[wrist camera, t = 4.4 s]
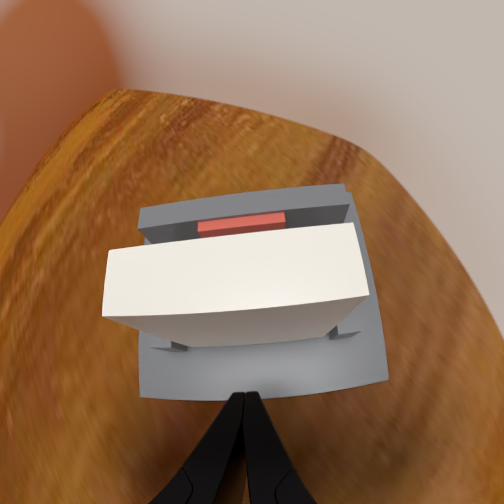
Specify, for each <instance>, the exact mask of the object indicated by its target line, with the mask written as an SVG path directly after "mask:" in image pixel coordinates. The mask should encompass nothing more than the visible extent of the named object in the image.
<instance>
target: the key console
mask: <svg viewBox="0 0 504 504" xmlns="http://www.w3.org/2000/svg"><path fill="white" fill-rule="evenodd" d="M342 223H354V227H355V231H356V235H357V239H358V243H359V247H360V252H361V256H362V260H363V265H364V270H365V274H366V279H367V284H368V289H369V296H368V297H367V298H366V299H365V300H364V301H363V302H362V303H361V304H359V305H358V306H357V307H356V308H355V309H354V310H353V311H352V312H351V313H350V314H349V315H348V316H346V317H345V318H344V319H343V320H342V321H341V322H340V323H339V324H337V325H336V326H335V327H334V328H333V329H332V330H331V331H329V332H328V333H327V334H326V335H325V336H324V337H319V338H311V339H303V340H295V341H285V342H275V343H264V344H252V345H237V346H219V347H189V346H186V345H182V344H179V343H176V342H173V341H169V340H166V339H163V338H160V337H157V336H154V335H151V334H148V333H145V332H143V331H140V330H139V386H140V397H146V398H158V399H174V400H207V401H218V400H228V399H229V397H230V396H231V394H232V393H233V392H245V393H246V392H247V391H258V392H259V394H260V397H261V399H268V398H280V397H290V396H299V395H308V394H315V393H322V392H329V391H335V390H341V389H347V388H352V387H357V386H362V385H367V384H372V383H376V382H381V381H385V380H389V377H388V367H387V358H386V350H385V343H384V336H383V329H382V323H381V317H380V311H379V305H378V300H377V294H376V289H375V284H374V279H373V275H372V270H371V265H370V261H369V257H368V252H367V248H366V244H365V240H364V236H363V232H362V229H361V225H360V221H359V218H358V214H357V210H356V207H355V204H354V200H353V197H352V194H351V192H348V193H347V192H346V188H345V185H344V184H330V185H317V186H304V187H293V188H283V189H273V190H264V191H255V192H246V193H238V194H230V195H222V196H215V197H208V198H201V199H194V200H187V201H181V202H175V203H169V204H163V205H157V206H151V207H145V208H141V209H140V215H139V222H138V230H139V231H140V232H141V233H142V234H143V235H144V236H145V243H144V245H152V244H160V243H168V242H176V241H184V240H192V239H201V238H209V237H218V236H226V235H235V234H244V233H253V232H262V231H272V230H281V229H291V228H301V227H311V226H321V225H331V224H342Z"/></svg>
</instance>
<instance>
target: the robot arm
mask: <svg viewBox="0 0 504 504" xmlns="http://www.w3.org/2000/svg"><path fill="white" fill-rule="evenodd" d="M182 466H183V467H181V468H180V469H179V470H178V472H177V473H176V474H175V476H174V477H173V478H172V479H171V481H170V482H169V483H168V484H167V485H166V486H165V487H164V488H163V490H162V491H161V492H160V493H159V494H158V495H157V496H156V497H155V498H154V499H152V500H151V501H150V502H149V503H148V504H242V501H243V494H244V487H245V480H246V473H247V478H248V488H249V497H250V504H317V503H316V501H315V500H314V499H313V497H312V496H311V495H310V493H309V492H308V490H307V489H306V487H305V486H304V484H303V482H302V480H301V479H300V477H299V475H298V473H297V471H296V469H295V468H294V466H293V464H292V462H291V460H290V458H289V456H288V454H287V452H286V450H285V447H284V445H283V443H282V441H281V439H280V437H279V435H278V433H277V431H276V429H275V427H274V425H273V423H272V420H271V418H270V416H269V414H268V412H267V410H266V408H265V405H264V403H263V401H262V399H261V397H260V394H259V392H258V391H247V392H246V393H245V392H233V393H232V394H231V396H230V397H229V399H228V400H227V402H226V403H225V405H224V406H223V408H222V409H221V411H220V412H219V414H218V415H217V417H216V418H215V420H214V421H213V423H212V424H211V426H210V427H209V428H208V430H207V431H206V433H205V434H204V436H203V437H202V439H201V440H200V441H199V443H198V444H197V446H196V447H195V448H194V450H193V451H192V453H191V454H190V455H189V457H188V458H187V460H186V461H185V462H184V464H183V465H182Z"/></svg>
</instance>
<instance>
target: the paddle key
mask: <svg viewBox="0 0 504 504" xmlns="http://www.w3.org/2000/svg"><path fill="white" fill-rule="evenodd" d="M368 296H369V289H368V284H367V279H366V274H365V270H364V265H363V260H362V256H361V252H360V247H359V243H358V239H357V235H356V231H355V227H354V223H342V224H331V225H321V226H311V227H301V228H291V229H281V230H272V231H262V232H253V233H244V234H235V235H226V236H218V237H209V238H201V239H192V240H184V241H176V242H168V243H160V244H152V245H144V246H137V247H129V248H122V249H114V250H109V254H108V261H107V269H106V277H105V286H104V296H103V309H102V316H103V317H105V318H108V319H110V320H113V321H115V322H118V323H121V324H123V325H126V326H129V327H131V328H134V329H137V330H140V331H143V332H145V333H148V334H151V335H154V336H157V337H160V338H163V339H166V340H169V341H173V342H176V343H179V344H182V345H186V346H189V347H219V346H237V345H252V344H264V343H275V342H285V341H295V340H303V339H311V338H319V337H324V336H325V335H326V334H327V333H328V332H329V331H331V330H332V329H333V328H334V327H335V326H336V325H337V324H339V323H340V322H341V321H342V320H343V319H344V318H345V317H346V316H348V315H349V314H350V313H351V312H352V311H353V310H354V309H355V308H356V307H357V306H358V305H359V304H361V303H362V302H363V301H364V300H365V299H366V298H367V297H368Z"/></svg>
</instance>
